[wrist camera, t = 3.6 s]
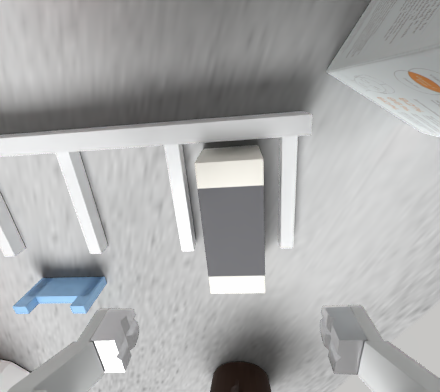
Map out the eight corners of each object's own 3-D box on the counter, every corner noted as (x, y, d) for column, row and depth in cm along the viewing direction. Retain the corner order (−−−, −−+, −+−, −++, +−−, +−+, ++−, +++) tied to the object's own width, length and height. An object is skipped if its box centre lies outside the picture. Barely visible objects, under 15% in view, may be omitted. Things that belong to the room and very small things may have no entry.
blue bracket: (104, 276, 24) (83, 306, 20) (106, 283, 24) (86, 313, 21) (42, 277, 24) (12, 306, 21) (45, 284, 24) (16, 313, 21)
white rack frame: (302, 111, 17) (312, 114, 14) (296, 239, 21) (303, 258, 18) (-44, 138, 19) (-82, 144, 17) (11, 248, 23) (-15, 266, 21)
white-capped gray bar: (257, 144, 18) (263, 159, 14) (260, 258, 22) (265, 292, 18) (203, 148, 18) (194, 163, 14) (215, 259, 22) (210, 293, 18)
